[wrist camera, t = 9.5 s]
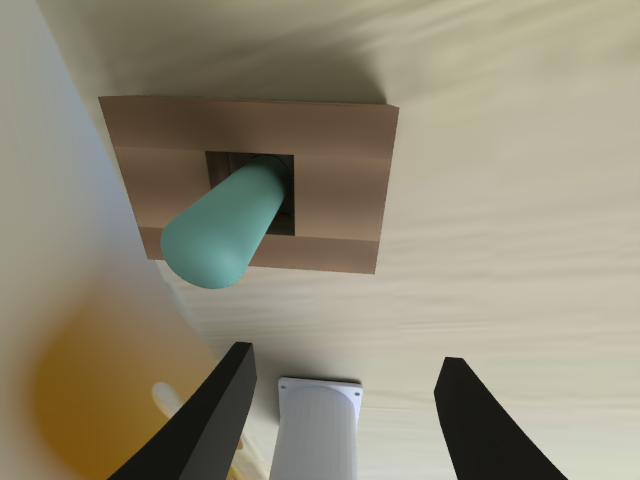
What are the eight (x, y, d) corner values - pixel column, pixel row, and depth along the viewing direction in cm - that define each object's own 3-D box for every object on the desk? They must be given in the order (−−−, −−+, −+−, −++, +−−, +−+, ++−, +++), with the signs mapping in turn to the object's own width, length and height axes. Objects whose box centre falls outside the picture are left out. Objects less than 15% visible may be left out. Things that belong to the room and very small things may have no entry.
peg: (290, 204, 18) (249, 292, 10) (244, 201, 18) (170, 285, 10) (290, 157, 17) (242, 217, 9) (240, 153, 17) (151, 210, 9)
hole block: (370, 249, 19) (374, 274, 17) (173, 236, 20) (147, 259, 17) (389, 104, 15) (399, 107, 12) (139, 95, 16) (97, 96, 13)
